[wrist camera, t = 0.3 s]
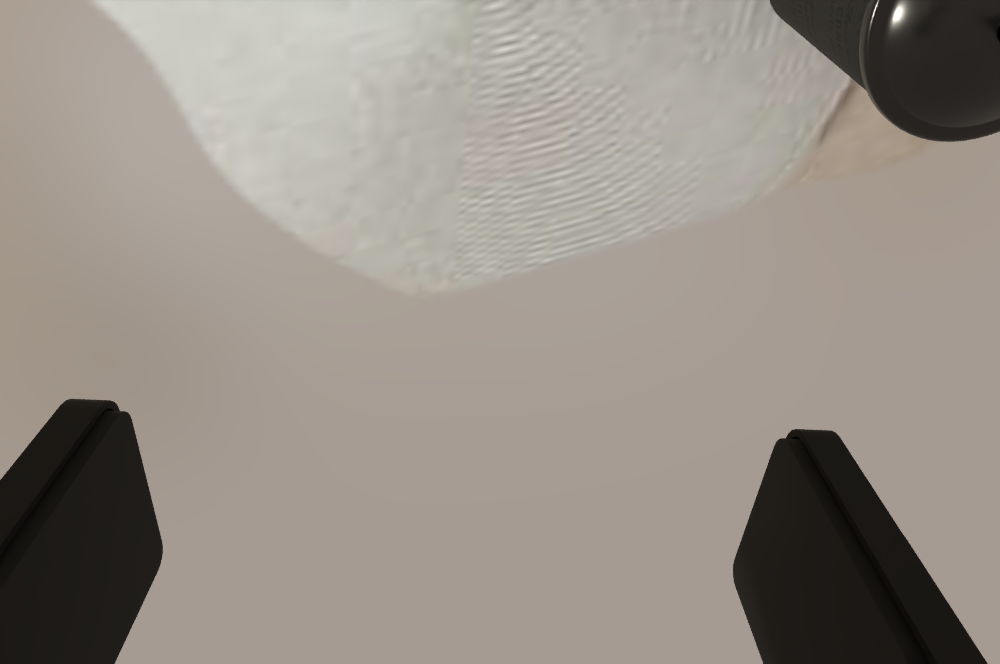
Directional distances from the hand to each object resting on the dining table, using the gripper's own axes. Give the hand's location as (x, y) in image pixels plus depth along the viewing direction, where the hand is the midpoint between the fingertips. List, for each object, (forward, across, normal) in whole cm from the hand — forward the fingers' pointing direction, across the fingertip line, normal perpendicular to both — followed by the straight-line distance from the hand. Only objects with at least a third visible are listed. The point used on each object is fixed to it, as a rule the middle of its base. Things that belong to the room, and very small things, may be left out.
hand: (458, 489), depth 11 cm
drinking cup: (+30, -16, -5) cm, 34 cm away
